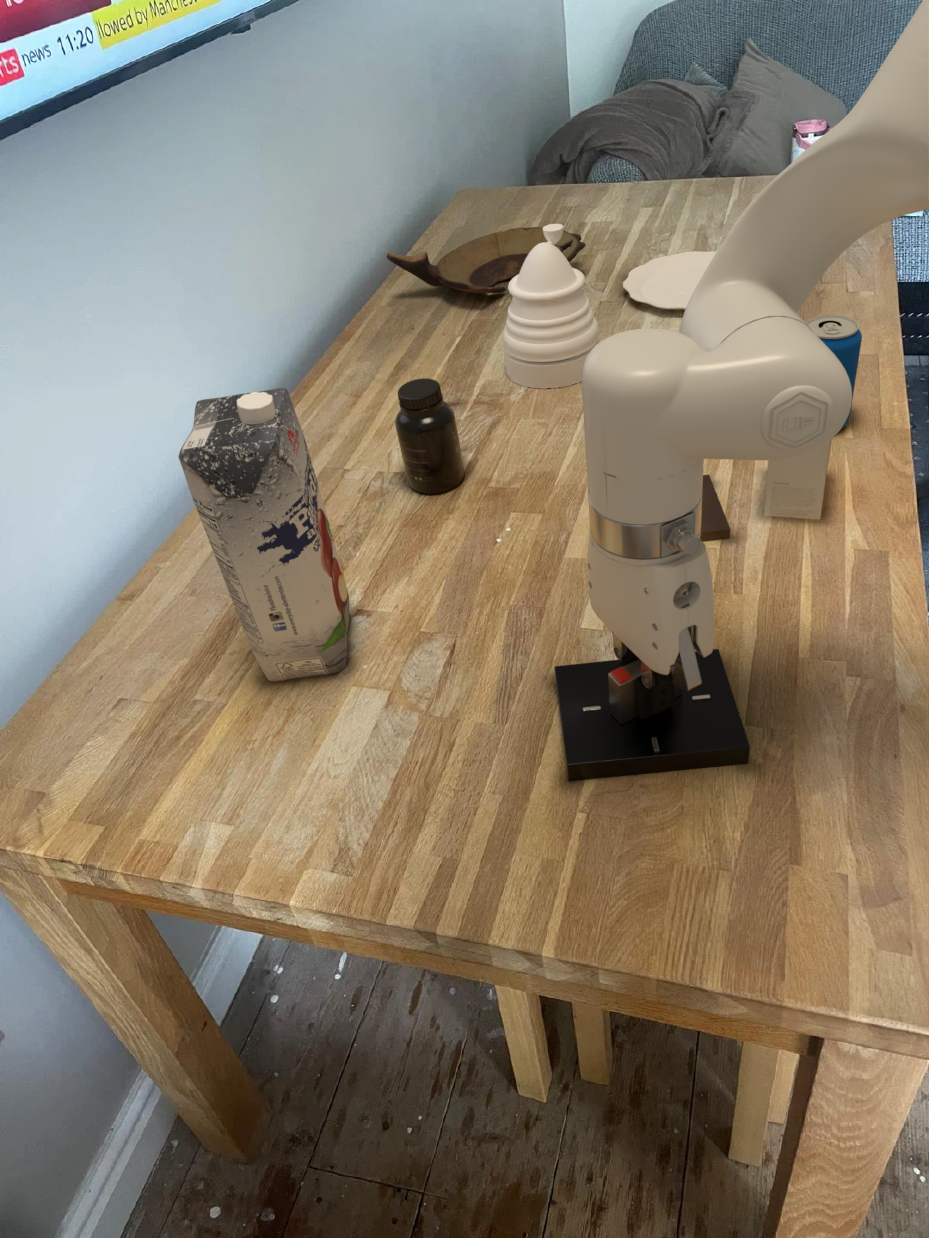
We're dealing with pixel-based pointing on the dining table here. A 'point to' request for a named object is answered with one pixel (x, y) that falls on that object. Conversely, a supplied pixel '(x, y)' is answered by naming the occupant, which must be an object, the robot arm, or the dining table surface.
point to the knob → (626, 691)
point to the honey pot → (548, 319)
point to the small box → (797, 485)
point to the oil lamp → (484, 260)
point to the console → (648, 725)
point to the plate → (668, 279)
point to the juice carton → (269, 531)
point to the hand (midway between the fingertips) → (646, 700)
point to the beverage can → (840, 341)
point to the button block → (712, 514)
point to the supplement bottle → (428, 438)
